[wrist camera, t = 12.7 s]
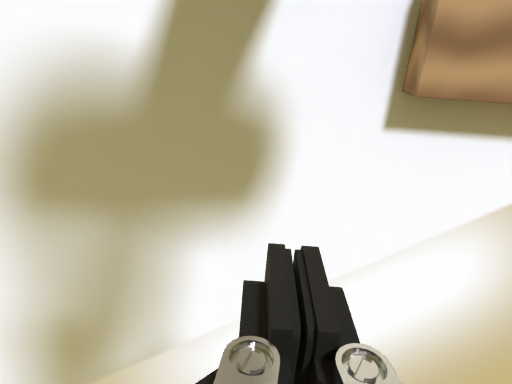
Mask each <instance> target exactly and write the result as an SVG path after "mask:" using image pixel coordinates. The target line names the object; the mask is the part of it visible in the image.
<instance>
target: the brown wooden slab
mask: <svg viewBox="0 0 512 384" xmlns="http://www.w3.org/2000/svg"><path fill="white" fill-rule="evenodd" d="M403 92H406V93H408V94H411V95H414V96H417V97H429V98H442V99H455V100H468V101H481V102H494V103H507V104H512V0H422V3H421V8H420V12H419V17H418V21H417V26H416V31H415V35H414V40H413V44H412V49H411V54H410V58H409V63H408V68H407V72H406V77H405V81H404V86H403Z"/></svg>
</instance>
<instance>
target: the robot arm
mask: <svg viewBox="0 0 512 384" xmlns="http://www.w3.org/2000/svg"><path fill="white" fill-rule="evenodd" d="M196 384H402V382H401V380H400V378H399V376H398V375H397V373H396V371H395V370H394V368H393V366H392V364H391V363H390V361H389V360H388V359H387V357H386V356H385V355H383V354H382V353H381V352H380V351H378V350H376V349H374V348H373V347H371V346H368V345H365V344H360V342H359V338H358V335H357V332H356V329H355V326H354V323H353V320H352V317H351V313H350V311H349V307H348V304H347V301H346V298H345V295H344V292H343V289H342V288H341V287H329V285H328V281H327V277H326V273H325V270H324V266H323V262H322V258H321V255H320V251H319V248H318V247H311V246H302V247H301V250H295V253H294V261H293V262H292V255H291V249H285V245H284V244H270V243H269V244H268V252H267V262H266V272H265V282H260V281H246V280H244V283H243V295H242V308H241V320H240V332H239V338H237V339H235V340H233V341H232V342H230V343H229V344H228V345H227V347H226V349H225V350H224V352H223V355H222V358H221V362H220V365H219V368H218V369H216V370H215V371H213V372H212V373H210V374H209V375H207V376H206V377H205V378H203V379H202V380H200V381H199V382H197V383H196Z"/></svg>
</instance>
